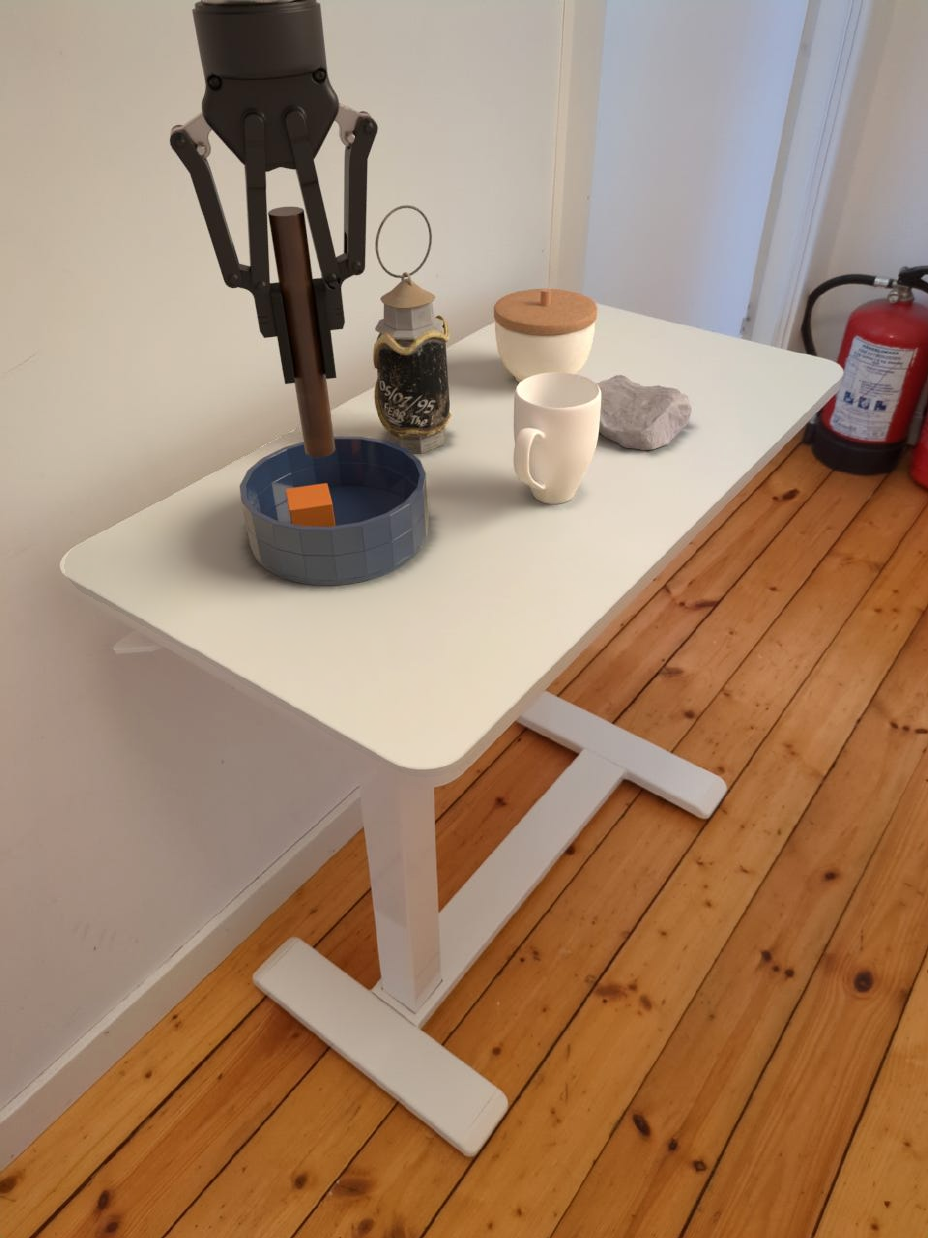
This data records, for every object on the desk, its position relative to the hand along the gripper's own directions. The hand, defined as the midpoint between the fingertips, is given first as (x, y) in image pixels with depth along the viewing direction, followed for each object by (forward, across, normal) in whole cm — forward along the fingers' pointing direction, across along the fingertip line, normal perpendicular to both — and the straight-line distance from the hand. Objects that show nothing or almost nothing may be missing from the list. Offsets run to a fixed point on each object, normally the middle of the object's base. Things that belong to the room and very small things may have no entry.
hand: (309, 373), depth 67 cm
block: (+20, +1, -9) cm, 22 cm away
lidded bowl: (+21, -31, -38) cm, 53 cm away
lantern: (+21, -12, -26) cm, 35 cm away
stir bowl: (+20, -1, -9) cm, 22 cm away
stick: (+6, 0, 0) cm, 6 cm away
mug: (+21, -22, -9) cm, 32 cm away
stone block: (+21, -36, -22) cm, 47 cm away
